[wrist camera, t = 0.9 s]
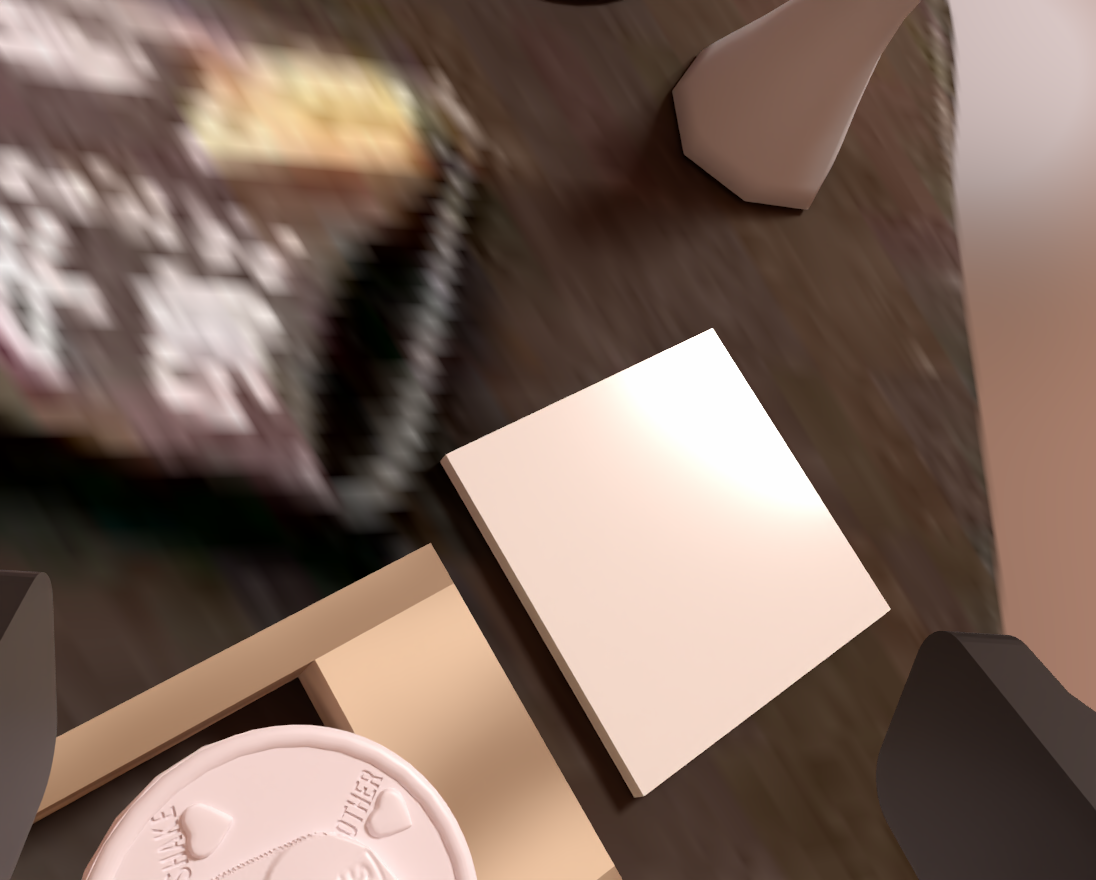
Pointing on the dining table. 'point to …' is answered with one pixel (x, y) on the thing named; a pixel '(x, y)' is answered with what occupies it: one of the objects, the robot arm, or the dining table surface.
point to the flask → (783, 95)
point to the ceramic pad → (666, 553)
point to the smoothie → (286, 815)
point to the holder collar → (376, 716)
